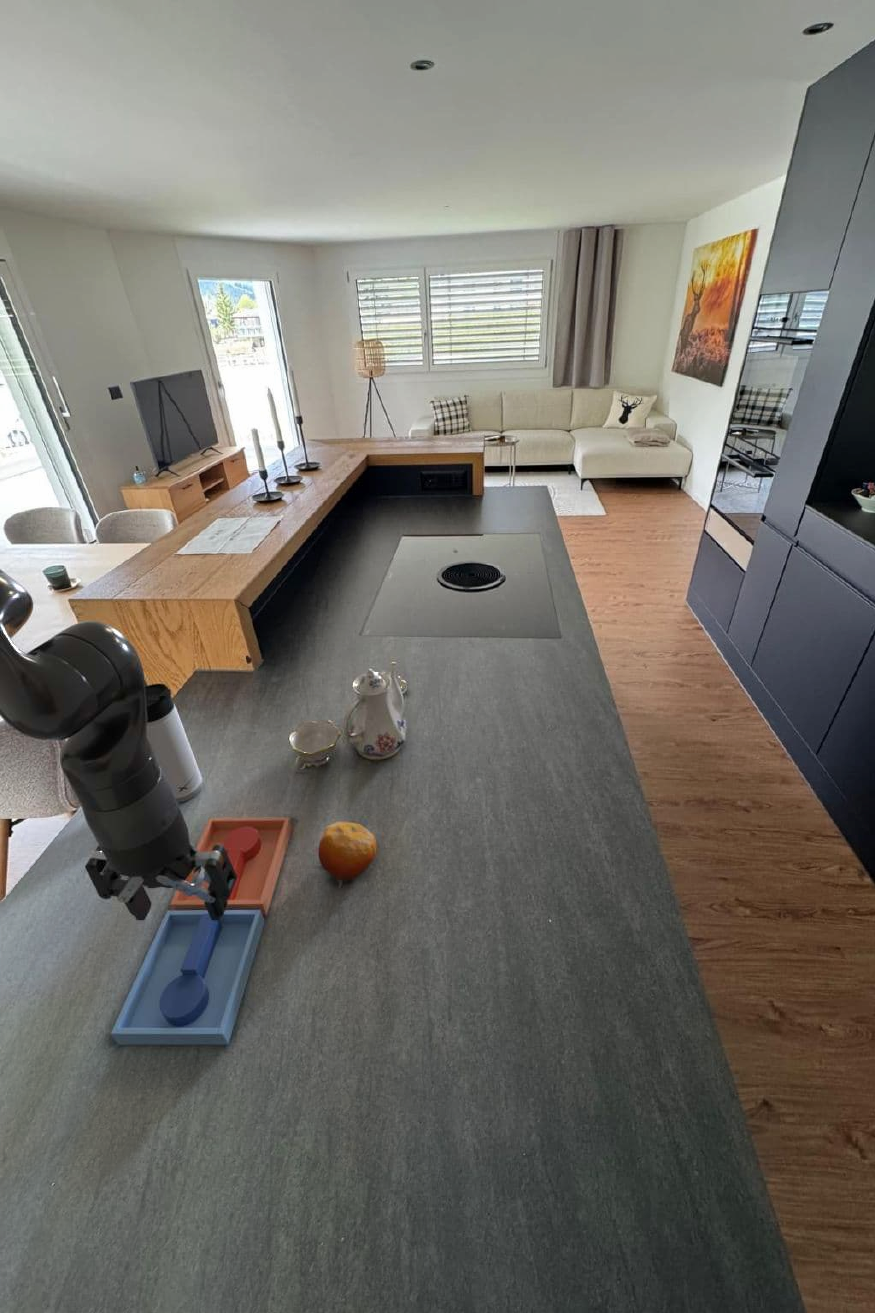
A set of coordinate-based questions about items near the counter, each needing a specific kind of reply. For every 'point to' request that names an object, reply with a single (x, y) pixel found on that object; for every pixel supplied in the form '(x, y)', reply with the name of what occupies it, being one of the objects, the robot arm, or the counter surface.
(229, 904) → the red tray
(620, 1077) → the counter surface
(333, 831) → the fruit
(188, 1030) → the blue tray
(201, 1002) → the blue spoon
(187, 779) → the travel mug
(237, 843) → the red spoon
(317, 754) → the chinaware
